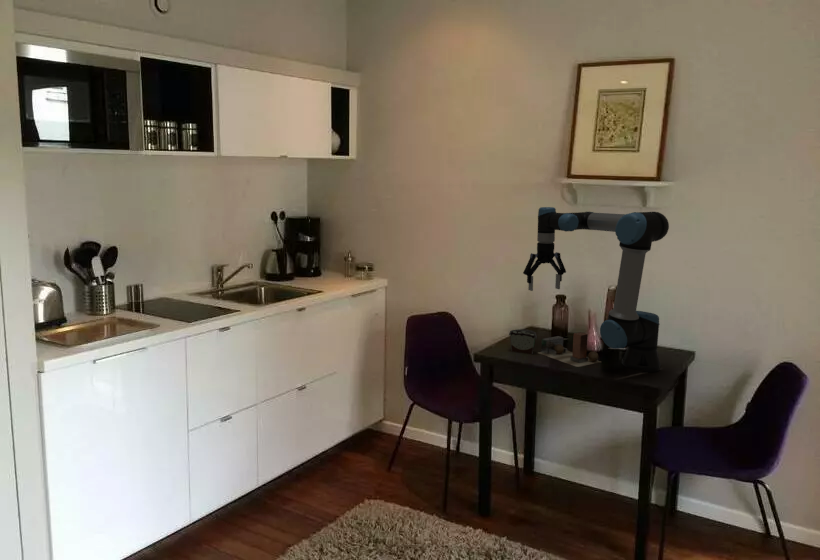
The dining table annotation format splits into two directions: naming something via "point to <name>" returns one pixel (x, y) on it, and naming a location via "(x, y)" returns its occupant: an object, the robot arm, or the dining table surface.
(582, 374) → the dining table surface
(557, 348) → the nut
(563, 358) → the board
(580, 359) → the reddish brown block
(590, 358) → the nut
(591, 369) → the dining table surface
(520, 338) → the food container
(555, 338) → the anvil
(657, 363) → the robot arm
